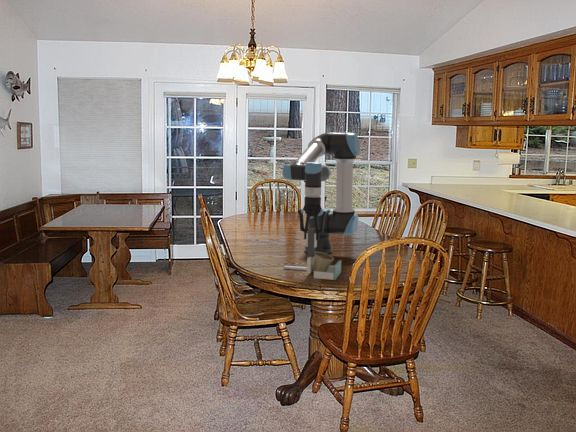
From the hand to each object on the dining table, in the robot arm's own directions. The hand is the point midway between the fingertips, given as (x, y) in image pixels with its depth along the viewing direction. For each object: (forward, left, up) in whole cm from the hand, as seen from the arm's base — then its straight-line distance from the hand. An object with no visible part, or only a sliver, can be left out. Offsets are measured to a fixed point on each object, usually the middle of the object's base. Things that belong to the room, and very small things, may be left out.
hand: (311, 246), depth 283 cm
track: (-6, -6, -13) cm, 16 cm away
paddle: (-1, 0, -12) cm, 12 cm away
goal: (0, +7, -13) cm, 15 cm away
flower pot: (0, +4, -12) cm, 13 cm away
